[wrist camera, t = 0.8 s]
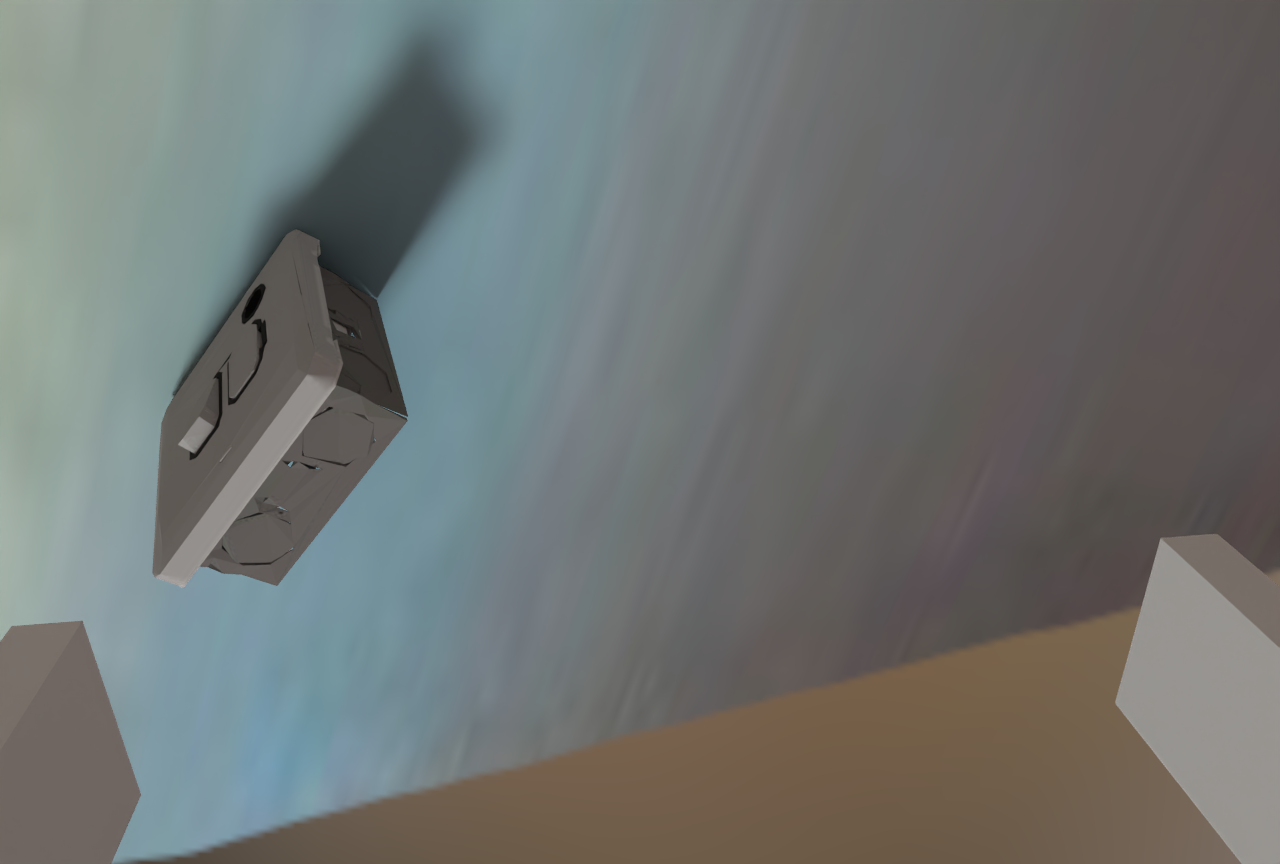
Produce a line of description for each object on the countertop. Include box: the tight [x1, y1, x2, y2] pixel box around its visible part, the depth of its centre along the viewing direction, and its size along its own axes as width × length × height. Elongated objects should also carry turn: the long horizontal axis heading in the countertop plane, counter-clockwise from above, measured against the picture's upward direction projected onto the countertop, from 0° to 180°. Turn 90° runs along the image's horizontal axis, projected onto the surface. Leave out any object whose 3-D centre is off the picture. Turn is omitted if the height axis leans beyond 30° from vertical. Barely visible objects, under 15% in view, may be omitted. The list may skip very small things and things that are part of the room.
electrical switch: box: [153, 229, 408, 588], centre depth 32 cm, size 9×5×9 cm, turn 140°
